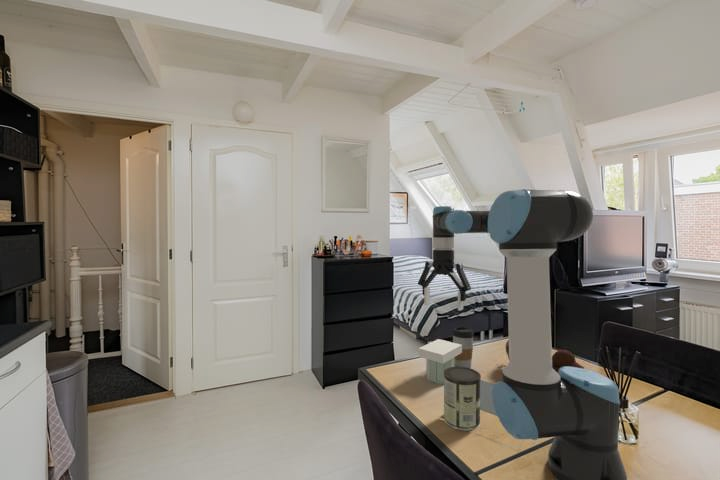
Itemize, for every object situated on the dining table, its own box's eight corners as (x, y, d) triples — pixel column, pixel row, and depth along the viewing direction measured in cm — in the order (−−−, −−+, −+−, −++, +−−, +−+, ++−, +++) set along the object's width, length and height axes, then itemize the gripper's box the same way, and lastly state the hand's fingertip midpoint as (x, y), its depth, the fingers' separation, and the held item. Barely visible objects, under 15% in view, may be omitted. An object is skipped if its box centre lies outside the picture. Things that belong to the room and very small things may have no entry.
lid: (443, 363, 122) (443, 355, 122) (418, 356, 129) (418, 348, 128) (462, 352, 132) (462, 344, 132) (438, 346, 139) (438, 339, 139)
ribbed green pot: (445, 387, 124) (445, 361, 123) (421, 378, 130) (421, 354, 130) (459, 378, 131) (459, 354, 131) (435, 370, 138) (435, 347, 137)
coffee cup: (447, 364, 144) (448, 328, 143) (463, 360, 147) (464, 325, 147) (461, 372, 136) (462, 333, 136) (478, 368, 140) (478, 330, 139)
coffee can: (461, 408, 109) (461, 363, 109) (488, 424, 101) (488, 376, 100) (435, 417, 104) (436, 370, 104) (461, 435, 95) (462, 384, 95)
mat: (497, 417, 104) (497, 415, 104) (448, 399, 115) (448, 398, 115) (520, 393, 119) (520, 392, 119) (475, 379, 130) (475, 378, 130)
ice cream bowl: (590, 402, 113) (591, 356, 112) (552, 399, 115) (553, 354, 114) (577, 387, 123) (578, 345, 122) (542, 384, 125) (543, 343, 125)
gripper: (481, 249, 123) (480, 310, 123) (419, 247, 139) (419, 300, 140) (471, 251, 117) (471, 314, 118) (408, 248, 134) (408, 303, 135)
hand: (443, 307), depth 129 cm, fingers open, 13 cm apart
